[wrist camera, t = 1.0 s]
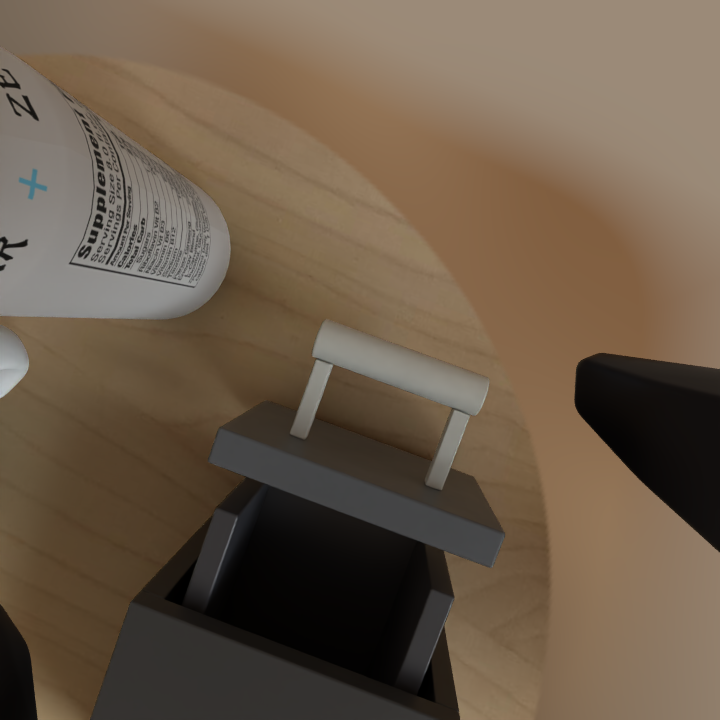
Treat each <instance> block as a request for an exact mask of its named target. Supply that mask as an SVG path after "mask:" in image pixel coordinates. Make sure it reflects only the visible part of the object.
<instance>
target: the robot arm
mask: <svg viewBox="0 0 720 720" xmlns="http://www.w3.org/2000/svg"><path fill="white" fill-rule="evenodd" d="M574 400H575V406H576V409H577V411H578V413H579V414H580V415H581V417H582V418H583V419H584V420H585V421H586V422H587V423H588V424H589V425H590V427H591V428H592V429H593V430H594V431H595V432H596V433H597V434H598V435H599V436H600V438H601V439H602V440H603V441H604V442H605V443H606V444H607V445H608V446H609V447H610V448H611V450H612V451H613V452H614V453H615V454H616V455H617V456H618V457H619V458H620V459H621V460H622V462H623V463H624V464H625V465H626V466H627V467H628V468H629V469H630V470H631V471H632V472H633V473H634V474H635V475H636V476H637V478H639V480H641V481H642V482H643V483H644V484H645V485H646V486H647V487H648V488H649V489H650V490H651V491H652V492H653V493H655V494H656V495H657V496H658V497H659V498H660V499H661V500H662V501H663V502H664V503H666V504H667V505H668V506H669V507H670V508H671V509H672V510H673V511H675V513H677V514H678V515H679V516H680V517H681V518H682V519H683V520H684V521H685V522H687V523H688V524H689V525H690V526H691V527H692V528H693V529H694V530H696V531H697V532H698V533H699V534H700V535H701V536H702V537H703V538H704V539H705V540H707V541H708V542H709V543H710V544H711V545H712V546H713V547H714V548H715V549H716V550H718V551H719V552H720V369H715V368H708V367H701V366H693V365H686V364H679V363H672V362H665V361H657V360H650V359H643V358H635V357H628V356H621V355H614V354H606V353H598V354H595V355H593V356H590V357H587V358H585V359H583V360H581V361H580V362H579V363H578V365H577V368H576V382H575V399H574ZM0 720H38V719H37V710H36V701H35V692H34V683H33V674H32V665H31V657H30V653H29V649H28V646H27V644H26V642H25V640H24V638H23V637H22V635H21V634H20V632H19V631H18V629H17V628H16V626H15V624H14V623H13V621H12V620H11V618H10V617H9V615H8V614H7V612H6V611H5V609H4V608H3V607H2V605H1V604H0Z"/></svg>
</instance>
